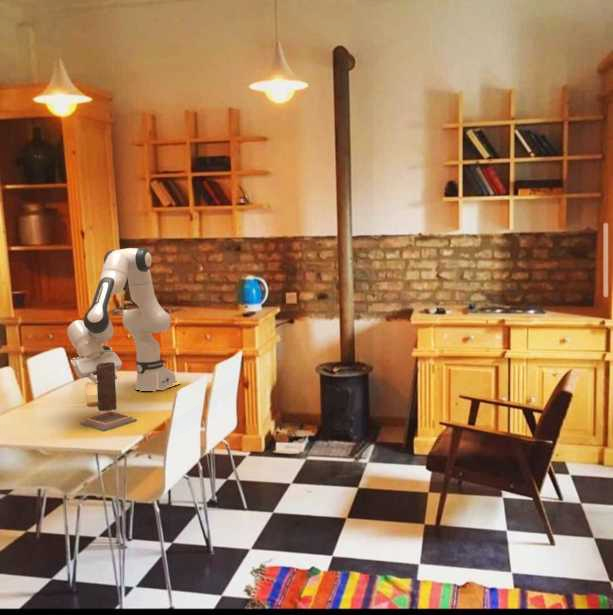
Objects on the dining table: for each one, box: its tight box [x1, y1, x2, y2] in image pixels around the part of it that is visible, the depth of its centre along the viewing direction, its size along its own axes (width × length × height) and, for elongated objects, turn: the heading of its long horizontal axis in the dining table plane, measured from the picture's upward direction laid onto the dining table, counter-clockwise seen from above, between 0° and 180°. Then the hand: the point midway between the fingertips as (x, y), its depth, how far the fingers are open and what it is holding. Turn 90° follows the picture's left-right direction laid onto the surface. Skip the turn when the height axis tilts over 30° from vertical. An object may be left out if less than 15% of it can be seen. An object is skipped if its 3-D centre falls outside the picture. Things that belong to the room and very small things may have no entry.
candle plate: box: [80, 410, 138, 432], centre depth 283 cm, size 16×16×2 cm
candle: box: [96, 362, 117, 412], centre depth 281 cm, size 8×7×20 cm
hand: (106, 380), depth 280 cm, fingers closed on candle, 7 cm apart
